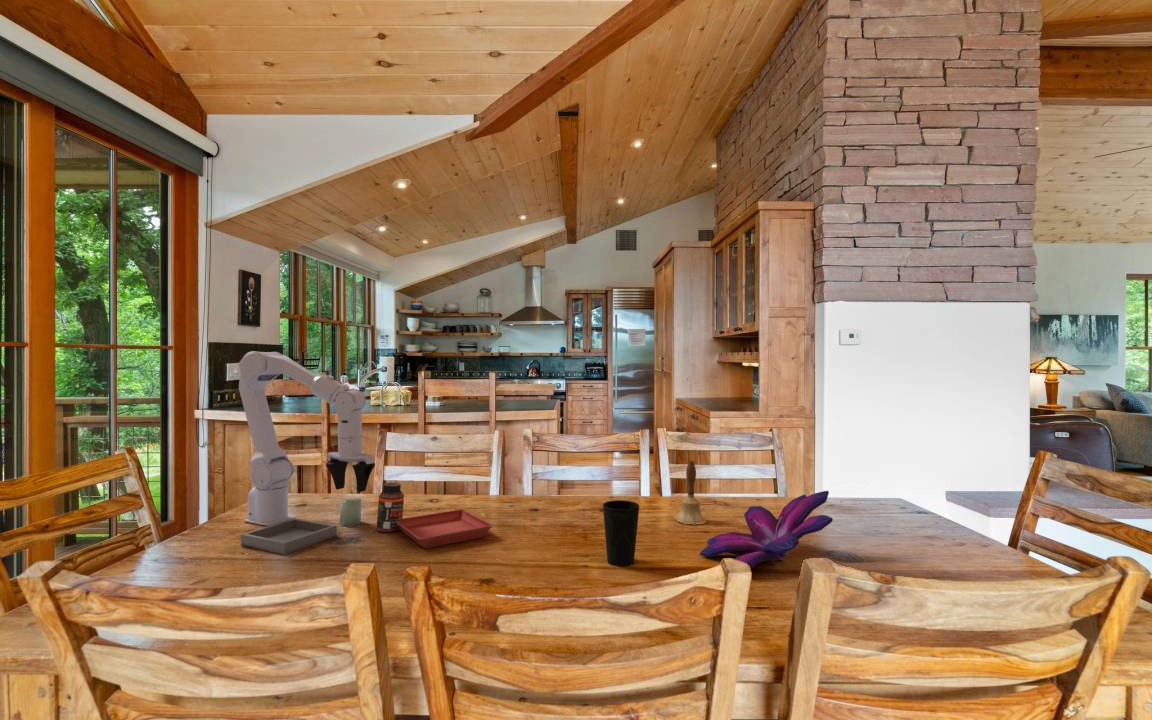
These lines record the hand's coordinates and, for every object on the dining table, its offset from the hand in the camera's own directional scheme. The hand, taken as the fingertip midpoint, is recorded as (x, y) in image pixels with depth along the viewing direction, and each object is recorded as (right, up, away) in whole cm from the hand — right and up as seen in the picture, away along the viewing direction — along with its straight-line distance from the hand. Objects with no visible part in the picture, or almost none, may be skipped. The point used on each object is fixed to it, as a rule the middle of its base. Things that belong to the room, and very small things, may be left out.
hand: (350, 489), depth 141 cm
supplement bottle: (+12, -9, -5) cm, 16 cm away
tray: (-8, -9, -14) cm, 18 cm away
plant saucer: (+26, -9, -9) cm, 29 cm away
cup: (+67, -9, -25) cm, 73 cm away
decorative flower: (+98, -10, -24) cm, 102 cm away
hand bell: (+88, -10, +5) cm, 89 cm away
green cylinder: (0, -9, 0) cm, 9 cm away
